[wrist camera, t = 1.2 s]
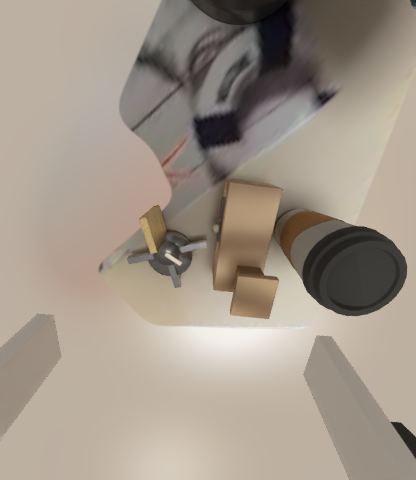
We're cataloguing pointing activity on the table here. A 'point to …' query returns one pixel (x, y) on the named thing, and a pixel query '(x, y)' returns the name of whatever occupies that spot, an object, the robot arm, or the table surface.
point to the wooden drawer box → (246, 246)
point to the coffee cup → (341, 262)
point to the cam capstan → (165, 247)
